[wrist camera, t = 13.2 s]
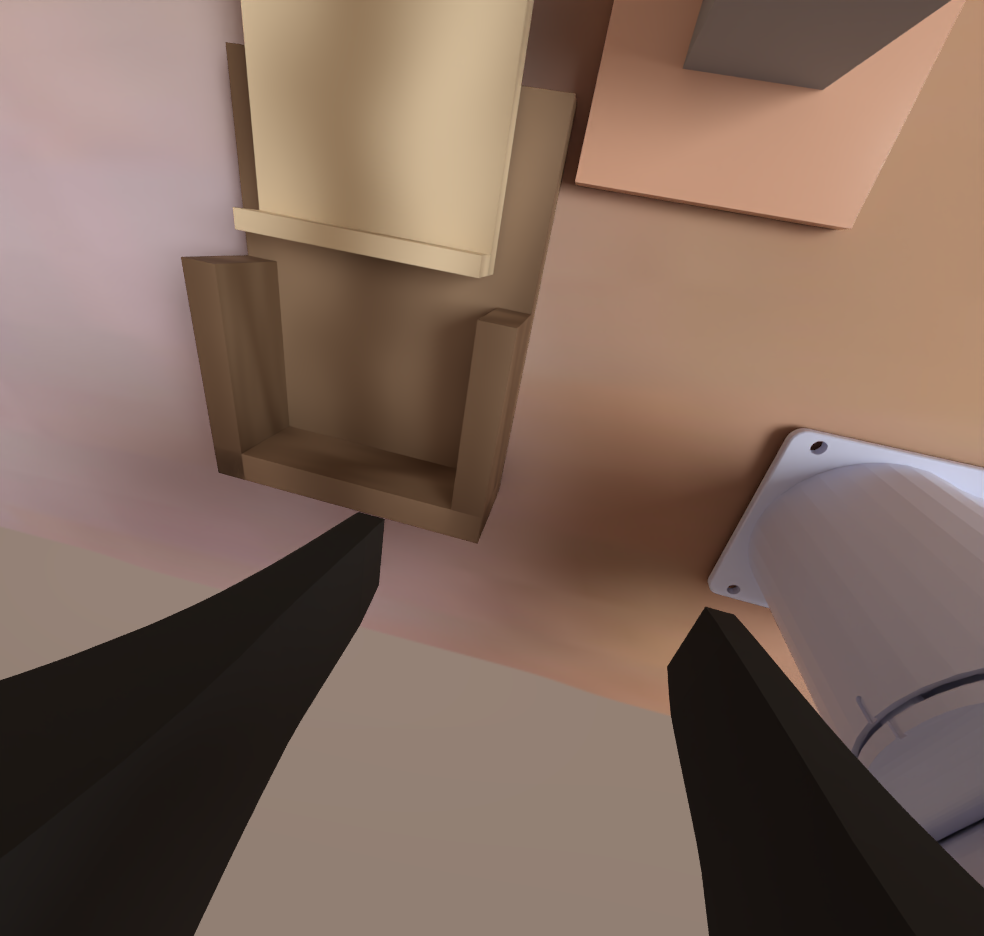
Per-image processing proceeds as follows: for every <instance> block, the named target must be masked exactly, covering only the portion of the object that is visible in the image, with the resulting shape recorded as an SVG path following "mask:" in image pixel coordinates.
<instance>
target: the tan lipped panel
mask: <svg viewBox="0 0 984 936" xmlns="http://www.w3.org/2000/svg"><path fill="white" fill-rule="evenodd" d="M533 4H534V0H241V10H242V21H243V32H244V44H245V55H246V66H247V77H248V88H249V99H250V111H251V122H252V133H253V144H254V155H255V166H256V177H257V189H258V200H259V210H254V209H245V208H236V207H233V214H234V223H235V229H237V230H242V231H247V232H252V233H257V234H262V235H267V236H272V237H277V238H282V239H287V240H292V241H297V242H302V243H307V244H312V245H316V246H321V247H326V248H331V249H336V250H341V251H346V252H351V253H356V254H361V255H366V256H371V257H376V258H381V259H386V260H391V261H396V262H401V263H406V264H411V265H416V266H421V267H426V268H431V269H436V270H441V271H446V272H451V273H456V274H461V275H465V276H470V277H475V278H481V277H485V276H489V275H493V271H494V264H495V258H496V251H497V244H498V238H499V231H500V224H501V218H502V211H503V204H504V198H505V191H506V184H507V178H508V171H509V164H510V158H511V151H512V144H513V138H514V131H515V124H516V118H517V111H518V104H519V98H520V91H521V84H522V78H523V71H524V64H525V58H526V51H527V44H528V38H529V31H530V24H531V18H532V11H533Z"/></svg>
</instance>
